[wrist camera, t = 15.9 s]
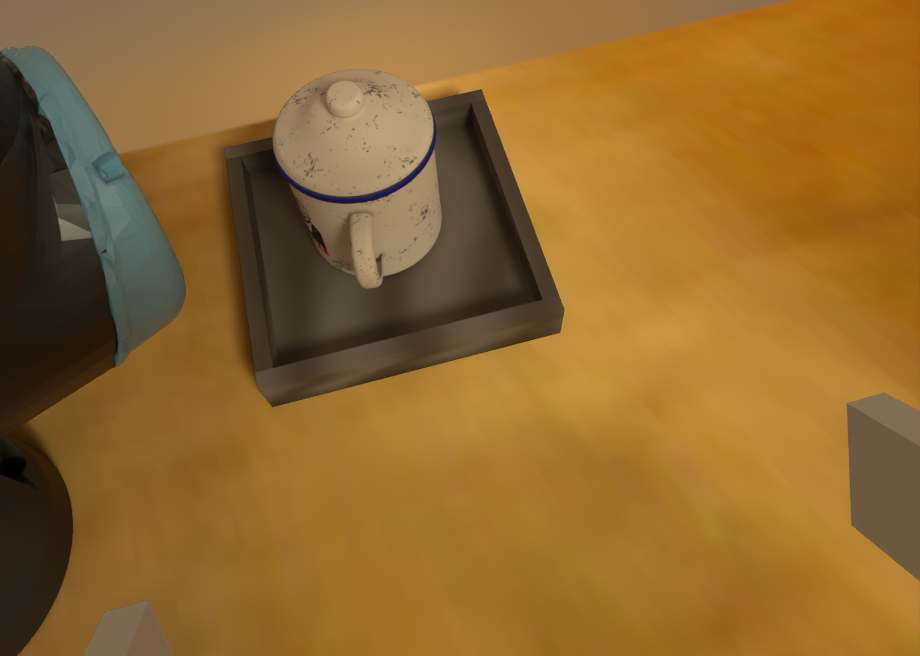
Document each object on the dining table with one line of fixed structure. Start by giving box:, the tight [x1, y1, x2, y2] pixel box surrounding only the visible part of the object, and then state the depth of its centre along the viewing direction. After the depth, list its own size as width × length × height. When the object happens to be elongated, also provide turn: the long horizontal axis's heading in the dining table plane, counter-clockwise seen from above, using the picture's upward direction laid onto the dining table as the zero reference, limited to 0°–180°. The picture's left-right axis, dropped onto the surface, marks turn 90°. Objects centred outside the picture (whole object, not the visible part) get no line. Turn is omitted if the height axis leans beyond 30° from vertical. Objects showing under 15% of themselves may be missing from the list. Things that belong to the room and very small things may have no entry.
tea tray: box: [224, 90, 564, 407], centre depth 45 cm, size 18×18×3 cm
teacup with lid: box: [272, 69, 442, 289], centre depth 40 cm, size 12×9×12 cm
